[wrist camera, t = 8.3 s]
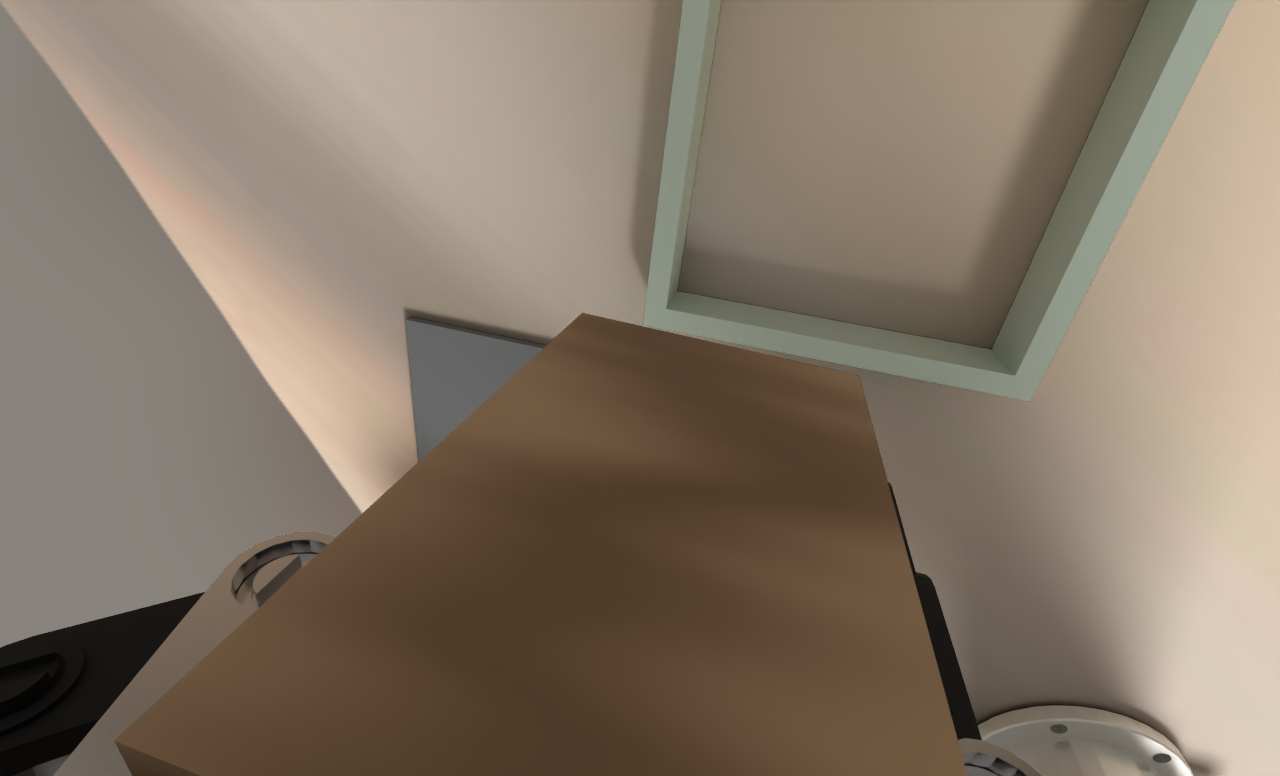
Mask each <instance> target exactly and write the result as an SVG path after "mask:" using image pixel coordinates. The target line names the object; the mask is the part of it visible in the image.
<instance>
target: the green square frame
mask: <svg viewBox="0 0 1280 776" xmlns="http://www.w3.org/2000/svg"><path fill="white" fill-rule="evenodd" d="M721 1H722V0H683V4H682V12H681V20H680V28H679V36H678V44H677V52H676V60H675V68H674V76H673V84H672V92H671V100H670V108H669V116H668V124H667V132H666V140H665V148H664V156H663V164H662V172H661V180H660V188H659V196H658V204H657V212H656V220H655V228H654V236H653V244H652V252H651V260H650V268H649V277H648V285H647V293H646V301H645V309H644V317H643V325H644V326H650V327H655V328H660V329H665V330H670V331H675V332H680V333H685V334H690V335H695V336H700V337H705V338H710V339H715V340H720V341H725V342H730V343H736V344H741V345H746V346H751V347H756V348H761V349H766V350H771V351H776V352H781V353H786V354H791V355H796V356H801V357H806V358H811V359H816V360H822V361H827V362H832V363H837V364H842V365H847V366H852V367H857V368H862V369H867V370H872V371H877V372H882V373H887V374H892V375H897V376H902V377H908V378H913V379H918V380H923V381H928V382H933V383H938V384H943V385H948V386H953V387H958V388H963V389H968V390H973V391H978V392H983V393H988V394H994V395H999V396H1004V397H1009V398H1014V399H1019V400H1024V401H1029V402H1031V400H1032V398H1033V396H1034V394H1035V392H1036V390H1037V388H1038V386H1039V384H1040V382H1041V380H1042V378H1043V376H1044V374H1045V372H1046V370H1047V368H1048V367H1049V365H1050V363H1051V361H1052V359H1053V357H1054V355H1055V353H1056V351H1057V349H1058V347H1059V345H1060V343H1061V341H1062V339H1063V337H1064V335H1065V333H1066V331H1067V329H1068V327H1069V325H1070V323H1071V322H1072V320H1073V318H1074V316H1075V314H1076V312H1077V310H1078V308H1079V306H1080V304H1081V302H1082V300H1083V298H1084V296H1085V294H1086V292H1087V290H1088V288H1089V286H1090V284H1091V282H1092V280H1093V279H1094V277H1095V275H1096V273H1097V271H1098V269H1099V267H1100V265H1101V263H1102V261H1103V259H1104V257H1105V255H1106V253H1107V251H1108V249H1109V247H1110V245H1111V243H1112V241H1113V239H1114V237H1115V236H1116V234H1117V232H1118V230H1119V228H1120V226H1121V224H1122V222H1123V220H1124V218H1125V216H1126V214H1127V212H1128V210H1129V208H1130V206H1131V204H1132V202H1133V200H1134V198H1135V196H1136V194H1137V193H1138V191H1139V189H1140V187H1141V185H1142V183H1143V181H1144V179H1145V177H1146V175H1147V173H1148V171H1149V169H1150V167H1151V165H1152V163H1153V161H1154V159H1155V157H1156V155H1157V153H1158V151H1159V150H1160V148H1161V146H1162V144H1163V142H1164V140H1165V138H1166V136H1167V134H1168V132H1169V130H1170V128H1171V126H1172V124H1173V122H1174V120H1175V118H1176V116H1177V114H1178V112H1179V110H1180V108H1181V106H1182V105H1183V103H1184V101H1185V99H1186V97H1187V95H1188V93H1189V91H1190V89H1191V87H1192V85H1193V83H1194V81H1195V79H1196V77H1197V75H1198V73H1199V71H1200V69H1201V67H1202V65H1203V63H1204V62H1205V60H1206V58H1207V56H1208V54H1209V52H1210V50H1211V48H1212V46H1213V44H1214V42H1215V40H1216V38H1217V36H1218V34H1219V32H1220V30H1221V28H1222V26H1223V24H1224V22H1225V20H1226V19H1227V17H1228V15H1229V13H1230V11H1231V9H1232V7H1233V5H1234V3H1235V1H1236V0H1149V3H1148V5H1147V7H1146V9H1145V11H1144V14H1143V16H1142V18H1141V20H1140V23H1139V25H1138V27H1137V29H1136V31H1135V34H1134V36H1133V38H1132V40H1131V42H1130V45H1129V47H1128V49H1127V51H1126V54H1125V56H1124V58H1123V60H1122V62H1121V65H1120V67H1119V69H1118V71H1117V73H1116V76H1115V78H1114V80H1113V82H1112V85H1111V87H1110V89H1109V91H1108V93H1107V96H1106V98H1105V100H1104V102H1103V105H1102V107H1101V109H1100V111H1099V113H1098V116H1097V118H1096V120H1095V122H1094V124H1093V127H1092V129H1091V131H1090V133H1089V136H1088V138H1087V140H1086V142H1085V144H1084V147H1083V149H1082V151H1081V153H1080V156H1079V158H1078V160H1077V162H1076V164H1075V167H1074V169H1073V171H1072V173H1071V175H1070V178H1069V180H1068V182H1067V184H1066V187H1065V189H1064V191H1063V193H1062V195H1061V198H1060V200H1059V202H1058V204H1057V206H1056V209H1055V211H1054V213H1053V215H1052V218H1051V220H1050V222H1049V224H1048V226H1047V229H1046V231H1045V233H1044V235H1043V238H1042V240H1041V242H1040V244H1039V246H1038V249H1037V251H1036V253H1035V255H1034V257H1033V260H1032V262H1031V264H1030V266H1029V269H1028V271H1027V273H1026V275H1025V277H1024V280H1023V282H1022V284H1021V286H1020V288H1019V291H1018V293H1017V295H1016V297H1015V300H1014V302H1013V304H1012V306H1011V308H1010V311H1009V313H1008V315H1007V317H1006V320H1005V322H1004V324H1003V326H1002V328H1001V331H1000V333H999V335H998V337H997V339H996V342H995V344H994V346H993V348H992V350H991V349H986V348H981V347H975V346H970V345H964V344H959V343H954V342H948V341H943V340H938V339H932V338H927V337H921V336H916V335H911V334H905V333H900V332H894V331H889V330H884V329H878V328H873V327H867V326H862V325H857V324H851V323H846V322H841V321H835V320H830V319H824V318H819V317H814V316H808V315H803V314H797V313H792V312H787V311H781V310H776V309H770V308H765V307H760V306H754V305H749V304H743V303H738V302H733V301H727V300H722V299H717V298H711V297H706V296H700V295H695V294H690V293H684V292H679V291H678V284H679V277H680V271H681V264H682V258H683V251H684V245H685V238H686V231H687V225H688V218H689V212H690V205H691V198H692V192H693V185H694V179H695V172H696V166H697V159H698V152H699V146H700V139H701V133H702V126H703V119H704V113H705V106H706V100H707V93H708V87H709V80H710V73H711V67H712V60H713V54H714V47H715V40H716V34H717V27H718V21H719V14H720V8H721Z"/></svg>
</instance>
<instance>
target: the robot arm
mask: <svg viewBox="0 0 1280 776" xmlns="http://www.w3.org/2000/svg"><path fill="white" fill-rule="evenodd" d="M888 485H889V489H890V492H891V496H892V500H893V503H894V507H895V511H896V514H897V518H898V522H899V525H900V529H901V533H902V536H903V540H904V544H905V548H906V551H907V555H908V559H909V562H910V566H911V570H912V573H913V577H914V581H915V584H916V588H917V592H918V595H919V599H920V603H921V606H922V610H923V614H924V618H925V621H926V625H927V629H928V632H929V636H930V640H931V643H932V647H933V651H934V654H935V658H936V662H937V665H938V669H939V673H940V676H941V680H942V684H943V688H944V691H945V695H946V699H947V702H948V706H949V710H950V713H951V717H952V721H953V724H954V728H955V732H956V735H957V739H958V743H959V747H960V750H961V754H962V758H963V761H964V765H965V769H966V772H967V776H1194V775H1193V773H1192V771H1191V769H1190V767H1189V765H1188V764H1187V762H1186V761H1185V759H1184V758H1183V756H1182V755H1181V753H1180V752H1179V750H1178V749H1177V747H1176V746H1175V745H1174V744H1173V743H1171V742H1170V741H1169V740H1168V739H1167V738H1166V737H1165V736H1164V735H1162V734H1161V733H1159V732H1157V731H1156V730H1154V729H1152V728H1151V727H1149V726H1147V725H1145V724H1143V723H1141V722H1138V721H1136V720H1134V719H1131V718H1129V717H1126V716H1123V715H1120V714H1116V713H1112V712H1109V711H1105V710H1101V709H1094V708H1088V707H1081V706H1064V705H1050V706H1035V707H1029V708H1023V709H1018V710H1013V711H1010V712H1007V713H1004V714H1001V715H998V716H995V717H993V718H991V719H989V720H987V721H985V722H983V723H981V724H979V725H977V722H976V719H975V716H974V712H973V709H972V706H971V703H970V699H969V696H968V693H967V690H966V687H965V683H964V680H963V677H962V674H961V670H960V667H959V664H958V661H957V658H956V654H955V651H954V648H953V645H952V641H951V638H950V635H949V632H948V629H947V625H946V622H945V619H944V616H943V612H942V609H941V606H940V603H939V600H938V596H937V593H936V590H935V587H934V585H933V583H932V580H931V579H930V578H929V577H928V576H927V575H925V574H921V573H917V572H915V568H914V565H913V561H912V558H911V554H910V550H909V547H908V543H907V540H906V536H905V532H904V529H903V525H902V522H901V518H900V515H899V511H898V507H897V504H896V500H895V497H894V493H893V489H892V486H891V484H890V483H889V482H888ZM335 538H336V537H334V536H332V535H330V534H324V533H320V532H294V533H289V534H285V535H281V536H276V537H273V538H271V539H268V540H266V541H263V542H261V543H258V544H256V545H254V546H253V547H251V548H249V549H248V550H246V551H244V552H243V553H241V554H240V555H238V556H237V557H236V558H235V559H234V560H233V561H232V562H231V563H230V564H229V565H228V566H227V567H226V568H225V569H224V570H223V571H222V572H221V573H220V575H219V576H218V577H217V578H216V580H215V581H214V582H213V583H212V584H211V586H210V587H209V588H208V589H207V590H206V592H203V593H199V594H195V595H192V596H188V597H184V598H180V599H176V600H172V601H168V602H164V603H160V604H157V605H153V606H149V607H145V608H141V609H137V610H134V611H130V612H126V613H122V614H118V615H114V616H110V617H106V618H102V619H98V620H95V621H90V622H87V623H83V624H79V625H75V626H72V627H67V628H63V629H59V630H56V631H52V632H48V633H44V634H40V635H37V636H33V637H30V638H27V639H24V640H21V641H18V642H15V643H12V644H9V645H6V646H3V647H1V648H0V776H132V774H131V772H130V770H129V769H128V767H127V765H126V763H125V761H124V759H123V757H122V755H121V753H120V751H119V749H118V748H117V746H116V744H115V742H114V740H115V739H116V738H117V737H118V736H119V735H120V734H121V733H123V732H124V731H125V730H126V729H127V728H128V727H129V726H130V725H131V724H132V723H133V722H135V721H136V720H137V719H138V718H139V717H140V716H141V715H142V714H143V713H144V712H146V711H147V710H148V709H149V708H150V707H151V706H152V705H153V704H154V703H155V702H156V701H158V700H159V699H160V698H161V697H162V696H163V695H164V694H165V693H166V692H167V691H169V690H170V689H171V688H172V687H173V686H174V685H175V684H176V683H177V682H178V681H179V680H181V679H182V678H183V677H184V676H185V675H186V674H187V673H188V672H189V671H190V670H192V669H193V668H194V667H195V666H196V665H197V664H198V663H199V662H200V661H201V660H202V659H204V658H205V657H206V656H207V655H208V654H209V653H210V652H211V651H212V650H213V649H215V648H216V647H217V646H218V645H219V644H220V643H221V642H222V641H223V640H224V639H226V638H227V637H228V636H229V635H230V634H231V633H232V632H233V631H234V630H235V629H236V628H238V627H239V626H240V625H241V624H242V623H243V622H244V621H245V620H246V619H247V618H249V617H250V616H251V615H252V614H253V613H254V612H255V611H256V610H257V609H258V608H259V607H261V606H262V605H263V604H264V603H265V602H266V601H267V600H268V599H269V598H270V597H272V596H273V595H274V594H275V593H276V592H277V591H278V590H279V589H280V588H281V587H282V586H284V585H285V584H286V583H287V582H288V581H289V580H290V579H291V578H292V577H293V576H295V575H296V574H297V573H298V572H299V571H300V570H301V569H302V568H303V567H304V566H305V565H307V564H308V563H309V562H310V561H311V560H312V559H313V558H314V557H315V556H316V555H318V554H319V553H320V552H321V551H322V550H323V549H324V548H325V547H326V546H327V545H328V544H330V543H331V542H332V541H333V540H334V539H335Z"/></svg>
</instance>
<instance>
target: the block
mask: <svg viewBox="0 0 1280 776" xmlns="http://www.w3.org/2000/svg"><path fill="white" fill-rule="evenodd" d="M114 742H115V744H116V746H117V748H118V749H119V751H120V753H121V755H122V757H123V759H124V761H125V763H126V765H127V767H128V769H129V770H130V772H131V774H132V776H967V772H966V769H965V765H964V761H963V758H962V754H961V750H960V747H959V743H958V739H957V735H956V732H955V728H954V724H953V721H952V717H951V713H950V710H949V706H948V702H947V699H946V695H945V691H944V688H943V684H942V680H941V676H940V673H939V669H938V665H937V662H936V658H935V654H934V651H933V647H932V643H931V640H930V636H929V632H928V629H927V625H926V621H925V618H924V614H923V610H922V606H921V603H920V599H919V595H918V592H917V588H916V584H915V581H914V577H913V573H912V570H911V566H910V562H909V559H908V555H907V551H906V548H905V544H904V540H903V536H902V533H901V529H900V525H899V522H898V518H897V514H896V511H895V507H894V503H893V500H892V496H891V492H890V489H889V485H888V481H887V477H886V474H885V470H884V466H883V463H882V459H881V455H880V452H879V448H878V444H877V441H876V437H875V433H874V430H873V426H872V422H871V419H870V415H869V411H868V407H867V404H866V400H865V396H864V393H863V389H862V385H861V382H860V378H859V376H858V375H854V374H849V373H845V372H841V371H836V370H832V369H827V368H823V367H819V366H814V365H810V364H805V363H801V362H797V361H792V360H788V359H783V358H779V357H774V356H770V355H766V354H761V353H757V352H752V351H748V350H744V349H739V348H735V347H730V346H726V345H722V344H717V343H713V342H708V341H704V340H700V339H695V338H691V337H686V336H682V335H678V334H673V333H669V332H664V331H660V330H656V329H651V328H647V327H642V326H638V325H634V324H629V323H625V322H620V321H616V320H612V319H607V318H603V317H598V316H594V315H589V314H585V313H582V314H580V315H579V316H578V317H577V318H576V319H575V320H574V321H573V322H572V323H571V324H570V325H568V326H567V327H566V328H565V329H564V330H563V331H562V332H561V333H560V334H559V335H557V336H556V337H555V338H554V339H553V340H552V341H551V342H550V343H549V344H548V345H547V346H545V347H544V348H543V349H542V350H541V351H540V352H539V353H538V354H537V355H536V356H534V357H533V358H532V359H531V360H530V361H529V362H528V363H527V364H526V365H525V366H523V367H522V368H521V369H520V370H519V371H518V372H517V373H516V374H515V375H514V376H513V377H511V378H510V379H509V380H508V381H507V382H506V383H505V384H504V385H503V386H502V387H500V388H499V389H498V390H497V391H496V392H495V393H494V394H493V395H492V396H491V397H490V398H488V399H487V400H486V401H485V402H484V403H483V404H482V405H481V406H480V407H479V408H477V409H476V410H475V411H474V412H473V413H472V414H471V415H470V416H469V417H468V418H467V419H465V420H464V421H463V422H462V423H461V424H460V425H459V426H458V427H457V428H456V429H454V430H453V431H452V432H451V433H450V434H449V435H448V436H447V437H446V438H445V439H444V440H442V441H441V442H440V443H439V444H438V445H437V446H436V447H435V448H434V449H433V450H431V451H430V452H429V453H428V454H427V455H426V456H425V457H424V458H423V459H422V460H421V461H419V462H418V463H417V464H416V465H415V466H414V467H413V468H412V469H411V470H410V471H408V472H407V473H406V474H405V475H404V476H403V477H402V478H401V479H400V480H399V481H398V482H396V483H395V484H394V485H393V486H392V487H391V488H390V489H389V490H388V491H387V492H385V493H384V494H383V495H382V496H381V497H380V498H379V499H378V500H377V501H376V502H374V503H373V504H372V505H371V506H370V507H369V508H368V509H367V510H366V511H365V512H364V513H362V514H361V515H360V516H359V517H358V518H357V519H356V520H355V521H354V522H353V523H352V524H350V525H349V526H348V527H347V528H346V529H345V530H344V531H343V532H342V533H341V534H340V535H338V536H337V537H336V538H335V539H334V540H333V541H332V542H331V543H330V544H328V545H327V546H326V547H325V548H324V549H323V550H322V551H321V552H320V553H319V554H318V555H316V556H315V557H314V558H313V559H312V560H311V561H310V562H309V563H308V564H307V565H305V566H304V567H303V568H302V569H301V570H300V571H299V572H298V573H297V574H296V575H295V576H293V577H292V578H291V579H290V580H289V581H288V582H287V583H286V584H285V585H284V586H282V587H281V588H280V589H279V590H278V591H277V592H276V593H275V594H274V595H273V596H272V597H270V598H269V599H268V600H267V601H266V602H265V603H264V604H263V605H262V606H261V607H259V608H258V609H257V610H256V611H255V612H254V613H253V614H252V615H251V616H250V617H249V618H247V619H246V620H245V621H244V622H243V623H242V624H241V625H240V626H239V627H238V628H236V629H235V630H234V631H233V632H232V633H231V634H230V635H229V636H228V637H227V638H226V639H224V640H223V641H222V642H221V643H220V644H219V645H218V646H217V647H216V648H215V649H213V650H212V651H211V652H210V653H209V654H208V655H207V656H206V657H205V658H204V659H202V660H201V661H200V662H199V663H198V664H197V665H196V666H195V667H194V668H193V669H192V670H190V671H189V672H188V673H187V674H186V675H185V676H184V677H183V678H182V679H181V680H179V681H178V682H177V683H176V684H175V685H174V686H173V687H172V688H171V689H170V690H169V691H167V692H166V693H165V694H164V695H163V696H162V697H161V698H160V699H159V700H158V701H156V702H155V703H154V704H153V705H152V706H151V707H150V708H149V709H148V710H147V711H146V712H144V713H143V714H142V715H141V716H140V717H139V718H138V719H137V720H136V721H135V722H133V723H132V724H131V725H130V726H129V727H128V728H127V729H126V730H125V731H124V732H123V733H121V734H120V735H119V736H118V737H117V738H116V739H115V740H114Z"/></svg>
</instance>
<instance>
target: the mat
mask: <svg viewBox="0 0 1280 776" xmlns="http://www.w3.org/2000/svg"><path fill="white" fill-rule="evenodd" d="M406 329H407V340H408V351H409V362H410V374H411V385H412V396H413V407H414V419H415V430H416V441H417V453H418V462H419V461H421V460H422V459H423V458H424V457H425V456H426V455H427V454H428V453H429V452H430V451H431V450H433V449H434V448H435V447H436V446H437V445H438V444H439V443H440V442H441V441H442V440H444V439H445V438H446V437H447V436H448V435H449V434H450V433H451V432H452V431H453V430H454V429H456V428H457V427H458V426H459V425H460V424H461V423H462V422H463V421H464V420H465V419H467V418H468V417H469V416H470V415H471V414H472V413H473V412H474V411H475V410H476V409H477V408H479V407H480V406H481V405H482V404H483V403H484V402H485V401H486V400H487V399H488V398H490V397H491V396H492V395H493V394H494V393H495V392H496V391H497V390H498V389H499V388H500V387H502V386H503V385H504V384H505V383H506V382H507V381H508V380H509V379H510V378H511V377H513V376H514V375H515V374H516V373H517V372H518V371H519V370H520V369H521V368H522V367H523V366H525V365H526V364H527V363H528V362H529V361H530V360H531V359H532V358H533V357H534V356H536V355H537V354H538V353H539V352H540V351H541V350H542V349H543V348H544V347H545V346H547V345H542V344H538V343H533V342H528V341H523V340H518V339H514V338H509V337H504V336H499V335H495V334H490V333H485V332H480V331H476V330H471V329H466V328H461V327H457V326H452V325H447V324H442V323H437V322H433V321H428V320H423V319H418V318H414V317H410V318H408V319H406Z"/></svg>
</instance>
